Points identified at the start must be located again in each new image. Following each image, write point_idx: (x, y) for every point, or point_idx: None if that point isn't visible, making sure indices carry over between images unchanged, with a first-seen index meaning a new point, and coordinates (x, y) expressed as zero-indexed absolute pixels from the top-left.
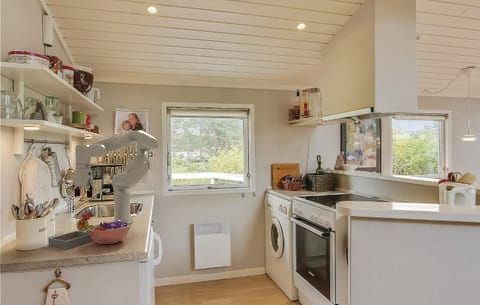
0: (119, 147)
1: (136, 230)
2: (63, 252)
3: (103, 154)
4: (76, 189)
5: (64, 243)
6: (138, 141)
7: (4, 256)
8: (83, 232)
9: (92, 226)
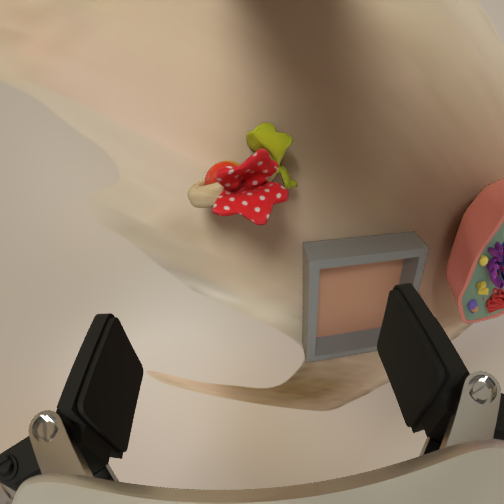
0: None
1: (472, 42)
2: None
3: None
4: (109, 452)
5: None
6: None
7: (278, 406)
8: (372, 262)
9: (474, 307)
